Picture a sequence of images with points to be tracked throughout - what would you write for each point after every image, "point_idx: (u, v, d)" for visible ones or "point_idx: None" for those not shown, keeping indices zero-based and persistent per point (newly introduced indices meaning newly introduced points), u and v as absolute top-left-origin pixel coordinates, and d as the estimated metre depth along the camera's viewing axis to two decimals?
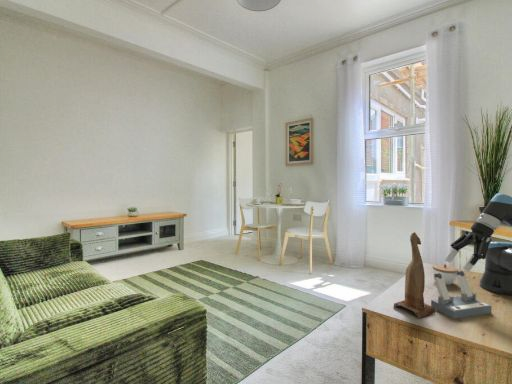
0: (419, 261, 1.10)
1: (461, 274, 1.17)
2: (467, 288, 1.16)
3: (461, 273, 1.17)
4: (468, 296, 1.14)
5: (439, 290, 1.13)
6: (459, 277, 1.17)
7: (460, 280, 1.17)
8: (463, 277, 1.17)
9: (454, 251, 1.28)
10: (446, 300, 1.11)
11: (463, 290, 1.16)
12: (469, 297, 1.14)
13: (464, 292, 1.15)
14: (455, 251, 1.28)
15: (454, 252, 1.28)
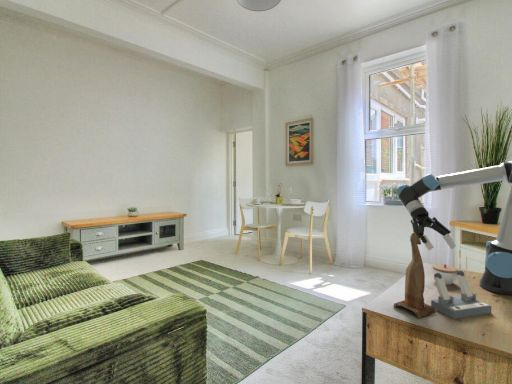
0: (419, 261, 1.10)
1: (461, 274, 1.17)
2: (467, 288, 1.16)
3: (461, 273, 1.17)
4: (468, 296, 1.14)
5: (439, 290, 1.13)
6: (459, 277, 1.17)
7: (460, 280, 1.17)
8: (463, 277, 1.17)
9: (445, 237, 1.32)
10: (446, 300, 1.11)
11: (463, 290, 1.16)
12: (469, 297, 1.14)
13: (464, 292, 1.15)
14: (445, 236, 1.32)
15: (446, 237, 1.32)
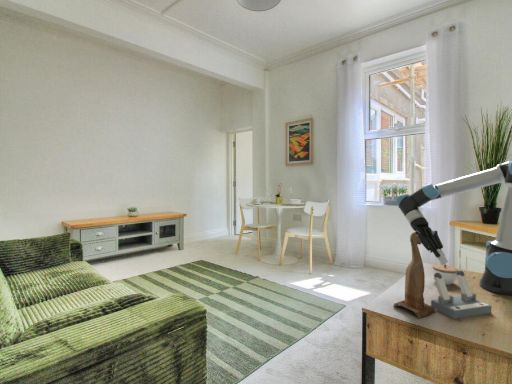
0: (419, 261, 1.10)
1: (461, 274, 1.17)
2: (467, 288, 1.16)
3: (461, 273, 1.17)
4: (468, 296, 1.14)
5: (439, 290, 1.13)
6: (459, 277, 1.17)
7: (460, 280, 1.17)
8: (463, 277, 1.17)
9: None
10: (446, 300, 1.11)
11: (463, 290, 1.16)
12: (469, 297, 1.14)
13: (464, 292, 1.15)
14: None
15: None
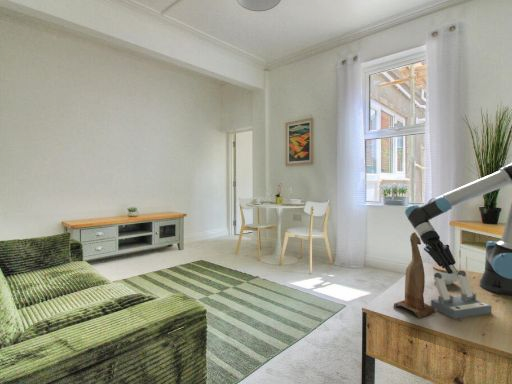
0: (419, 261, 1.10)
1: (463, 274, 1.16)
2: (468, 288, 1.15)
3: (463, 273, 1.17)
4: (468, 296, 1.14)
5: (439, 290, 1.13)
6: (460, 277, 1.17)
7: (461, 280, 1.16)
8: (464, 277, 1.17)
9: None
10: (446, 300, 1.11)
11: (463, 290, 1.15)
12: (469, 297, 1.14)
13: (464, 292, 1.15)
14: None
15: None
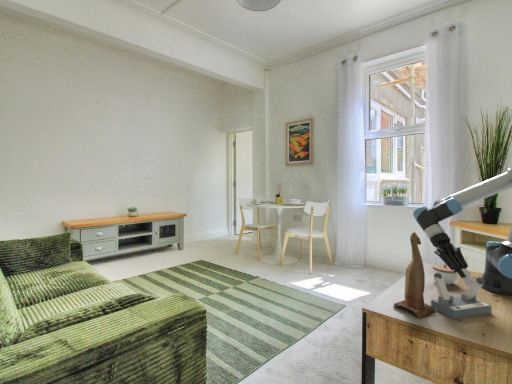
0: (419, 261, 1.10)
1: (480, 283, 1.10)
2: (475, 292, 1.13)
3: (481, 283, 1.09)
4: (469, 298, 1.14)
5: (439, 290, 1.13)
6: (476, 284, 1.11)
7: (474, 286, 1.11)
8: (480, 285, 1.11)
9: None
10: (446, 300, 1.11)
11: (469, 293, 1.13)
12: (469, 298, 1.14)
13: (468, 294, 1.13)
14: None
15: None
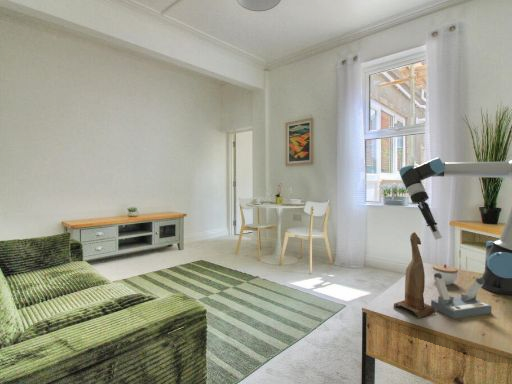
0: (419, 261, 1.10)
1: (480, 283, 1.10)
2: (475, 292, 1.13)
3: (481, 283, 1.09)
4: (469, 298, 1.14)
5: (439, 290, 1.13)
6: (476, 284, 1.11)
7: (474, 286, 1.11)
8: (480, 285, 1.11)
9: None
10: (446, 300, 1.11)
11: (469, 293, 1.13)
12: (469, 298, 1.14)
13: (468, 294, 1.13)
14: None
15: None
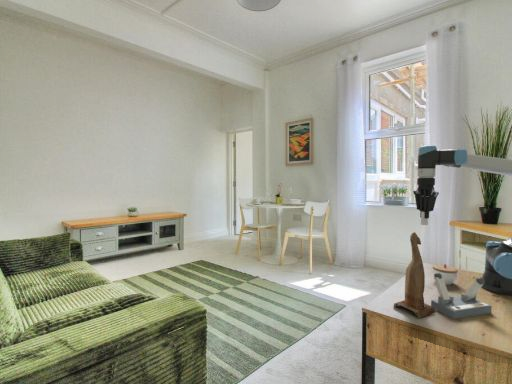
0: (419, 261, 1.10)
1: (480, 283, 1.10)
2: (475, 292, 1.13)
3: (481, 283, 1.09)
4: (469, 298, 1.14)
5: (439, 290, 1.13)
6: (476, 284, 1.11)
7: (474, 286, 1.11)
8: (480, 285, 1.11)
9: None
10: (446, 300, 1.11)
11: (469, 293, 1.13)
12: (469, 298, 1.14)
13: (468, 294, 1.13)
14: None
15: None
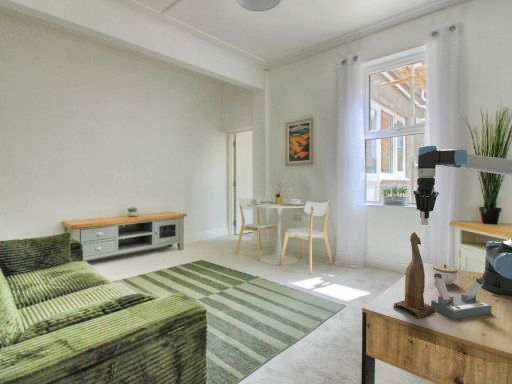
0: (419, 261, 1.10)
1: (480, 283, 1.10)
2: (475, 292, 1.13)
3: (481, 283, 1.09)
4: (469, 298, 1.14)
5: (439, 290, 1.13)
6: (476, 284, 1.11)
7: (474, 286, 1.11)
8: (480, 285, 1.11)
9: None
10: (446, 300, 1.11)
11: (469, 293, 1.13)
12: (469, 298, 1.14)
13: (468, 294, 1.13)
14: None
15: None
